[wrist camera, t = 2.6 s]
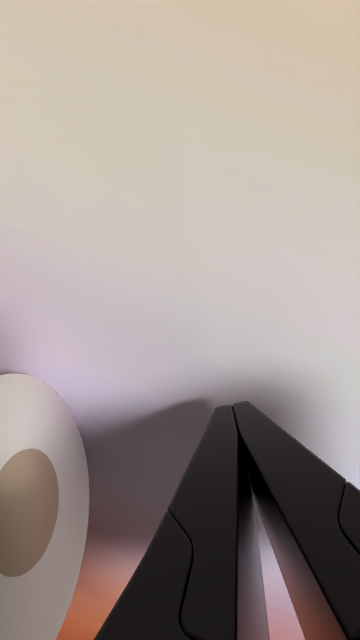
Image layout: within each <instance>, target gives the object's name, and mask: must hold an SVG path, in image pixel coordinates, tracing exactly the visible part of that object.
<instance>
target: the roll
mask: <svg viewBox="0 0 360 640" xmlns="http://www.w3.org/2000/svg"><path fill="white" fill-rule="evenodd" d="M88 516H89V478H88V467H87V460H86V454H85V449H84V445H83V441H82V437H81V434H80V432H79V430H78V427H77V425H76V423H75V421H74V418H73V416H72V414H71V411H70V409H69V407H68V405H67V404H66V402H65V401H64V400H63V398H62V397H61V396H60V394H59V393H58V392H57V391H56V390H55V389H54V388H52V387H51V386H50V385H49V384H47V383H46V382H44V381H42V380H40V379H39V378H36V377H33V376H30V375H26V374H18V373H16V374H4V375H0V640H55V639H56V637H57V635H58V633H59V631H60V629H61V626H62V624H63V622H64V619H65V617H66V614H67V612H68V609H69V606H70V603H71V600H72V597H73V595H74V591H75V588H76V584H77V581H78V577H79V573H80V569H81V564H82V560H83V555H84V549H85V543H86V536H87V528H88Z"/></svg>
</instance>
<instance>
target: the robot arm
mask: <svg viewBox="0 0 360 640" xmlns="http://www.w3.org/2000/svg"><path fill="white" fill-rule="evenodd" d="M245 462H246V463H245ZM246 466H247V467H246ZM248 475H249V476H248ZM249 479H250V480H249ZM250 483H251V484H250ZM251 487H252V489H251ZM252 491H253V494H252ZM253 495H254V498H255V501H256V504H257V507H258V510H259V512H260V515H261V518H262V521H263V524H264V526H265V529H266V532H267V535H268V537H269V540H270V543H271V546H272V548H273V551H274V554H275V557H276V559H277V562H278V565H279V568H280V571H281V573H282V576H283V579H284V582H285V584H286V587H287V590H288V593H289V595H290V598H291V601H292V604H293V606H294V609H295V612H296V615H297V617H298V620H299V623H300V626H301V629H302V631H303V634H304V637H305V640H360V490H359V489H357V488H356V487H355V486H354V485H352V484H351V483H350V482H347V481H346V479H345V478H343V477H342V476H341V475H340V474H338V473H337V472H336V471H335V470H333V469H332V468H331V467H330V466H328V465H327V464H326V463H325V462H323V461H322V460H321V459H320V458H318V457H317V456H316V455H315V454H313V453H312V452H311V451H310V450H308V449H307V448H306V447H305V446H303V445H302V444H301V443H300V442H298V441H297V440H296V439H295V438H293V437H292V436H291V435H290V434H288V433H287V432H286V431H285V430H283V429H282V428H281V427H280V426H278V425H277V424H276V423H275V422H273V421H272V420H271V419H270V418H268V417H267V416H266V415H265V414H263V413H262V412H261V411H259V410H258V409H257V408H256V407H254V406H253V405H252V404H251V403H249V402H248V401H244V402H239V403H235V404H233V407H232V405H224V406H219V407H217V408H216V409H215V411H214V413H213V415H212V417H211V419H210V421H209V424H208V426H207V428H206V430H205V432H204V434H203V436H202V438H201V440H200V442H199V444H198V447H197V449H196V451H195V453H194V455H193V457H192V459H191V461H190V463H189V465H188V467H187V470H186V472H185V474H184V476H183V478H182V480H181V482H180V484H179V486H178V488H177V490H176V493H175V495H174V497H173V499H172V501H171V503H170V505H169V507H168V512H166V513H165V515H164V517H163V519H162V521H161V524H160V526H159V528H158V530H157V532H156V534H155V536H154V537H153V539H152V541H151V543H150V545H149V547H148V549H147V551H146V553H145V555H144V557H143V558H142V560H141V562H140V564H139V565H138V567H137V569H136V570H135V572H134V574H133V576H132V577H131V579H130V581H129V582H128V584H127V586H126V588H125V589H124V591H123V593H122V594H121V596H120V597H119V599H118V601H117V602H116V604H115V606H114V607H113V609H112V611H111V612H110V614H109V615H108V617H107V619H106V620H105V622H104V624H103V625H102V627H101V629H100V630H99V632H98V634H97V635H96V637H95V638H94V640H270V637H269V628H268V619H267V611H266V602H265V593H264V585H263V576H262V568H261V559H260V550H259V542H258V533H257V524H256V516H255V507H254V500H253Z"/></svg>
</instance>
